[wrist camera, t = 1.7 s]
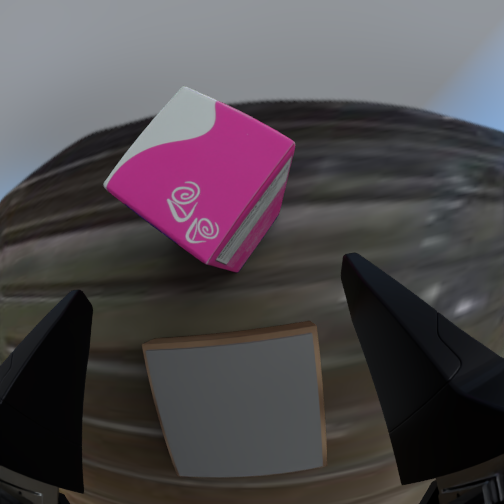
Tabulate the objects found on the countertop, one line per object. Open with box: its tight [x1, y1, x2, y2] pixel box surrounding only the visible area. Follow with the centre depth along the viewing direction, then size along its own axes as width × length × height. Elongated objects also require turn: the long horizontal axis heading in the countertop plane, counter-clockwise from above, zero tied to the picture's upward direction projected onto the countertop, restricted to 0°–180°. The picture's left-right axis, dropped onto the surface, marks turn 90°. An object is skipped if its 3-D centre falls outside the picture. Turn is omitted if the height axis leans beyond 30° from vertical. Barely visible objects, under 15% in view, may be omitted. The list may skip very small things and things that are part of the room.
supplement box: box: [104, 86, 295, 273], centre depth 15 cm, size 6×6×12 cm
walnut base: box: [142, 321, 327, 478], centre depth 17 cm, size 12×12×3 cm
